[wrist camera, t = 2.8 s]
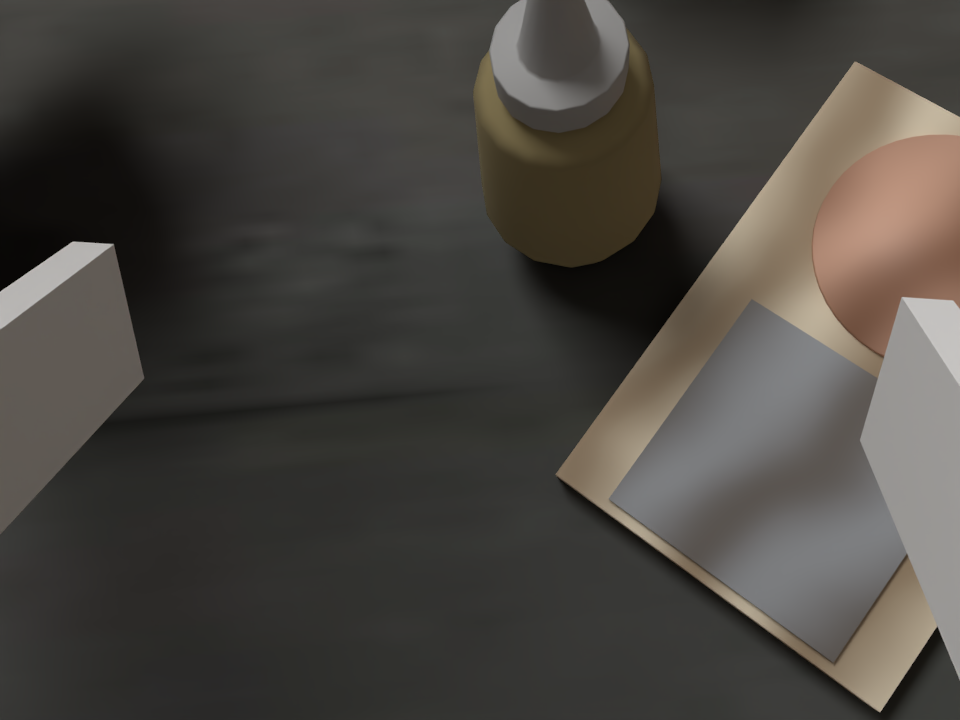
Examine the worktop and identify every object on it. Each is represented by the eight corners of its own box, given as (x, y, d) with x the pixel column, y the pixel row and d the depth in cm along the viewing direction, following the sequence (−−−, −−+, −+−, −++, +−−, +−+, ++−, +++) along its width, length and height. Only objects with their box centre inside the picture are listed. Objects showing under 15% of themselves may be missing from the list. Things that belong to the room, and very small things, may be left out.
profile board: (557, 477, 39) (555, 473, 37) (846, 78, 41) (856, 57, 39) (868, 705, 35) (882, 714, 34) (1169, 253, 37) (1196, 239, 36)
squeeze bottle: (494, 138, 43) (422, -136, 26) (656, 134, 42) (694, -156, 25) (488, 290, 41) (406, 107, 24) (656, 290, 40) (697, 97, 23)
